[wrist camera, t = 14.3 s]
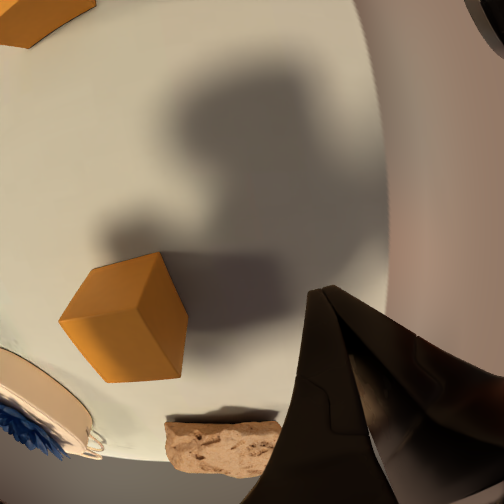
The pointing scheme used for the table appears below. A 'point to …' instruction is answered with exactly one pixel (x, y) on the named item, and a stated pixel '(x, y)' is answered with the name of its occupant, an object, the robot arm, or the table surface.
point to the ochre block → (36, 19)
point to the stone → (221, 447)
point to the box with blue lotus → (42, 410)
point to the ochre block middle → (129, 321)
